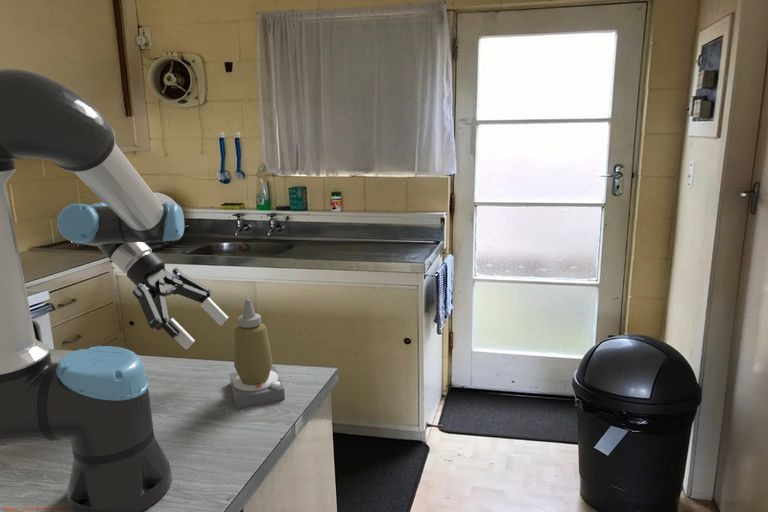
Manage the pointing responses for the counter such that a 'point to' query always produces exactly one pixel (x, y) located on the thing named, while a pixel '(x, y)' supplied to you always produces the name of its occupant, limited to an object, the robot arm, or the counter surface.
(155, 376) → the counter surface
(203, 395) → the counter surface
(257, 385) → the white dome on base
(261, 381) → the squeeze bottle
